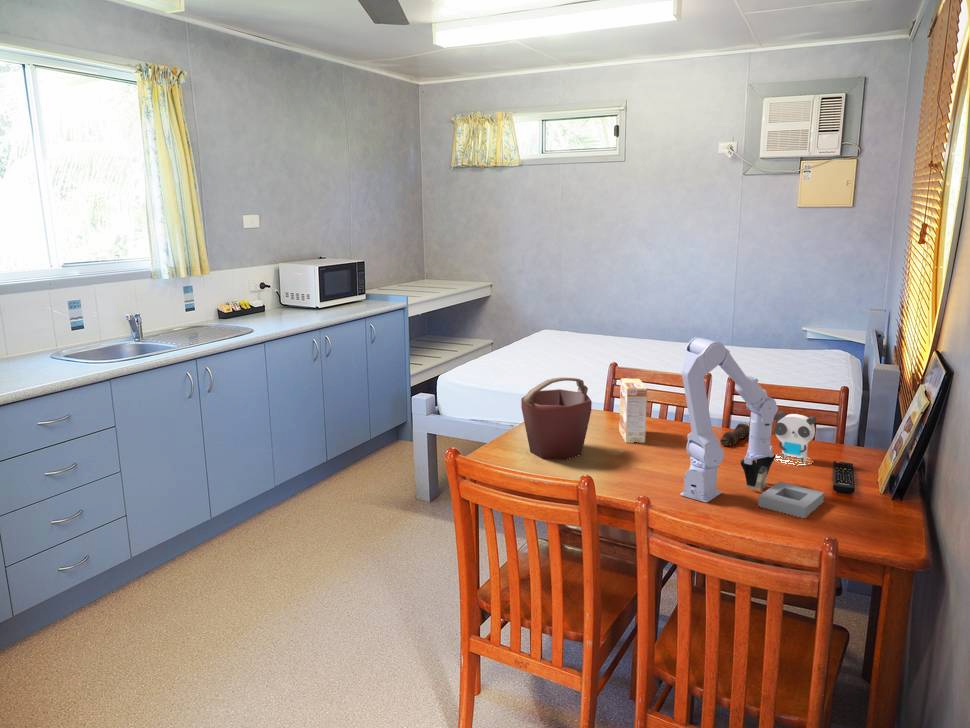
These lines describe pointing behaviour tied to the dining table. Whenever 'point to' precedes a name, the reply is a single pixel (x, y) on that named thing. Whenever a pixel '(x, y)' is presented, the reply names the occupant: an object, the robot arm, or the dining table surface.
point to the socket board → (791, 499)
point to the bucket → (556, 420)
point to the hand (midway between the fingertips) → (756, 481)
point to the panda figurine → (794, 436)
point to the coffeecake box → (633, 410)
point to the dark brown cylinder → (735, 434)
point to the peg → (760, 479)
